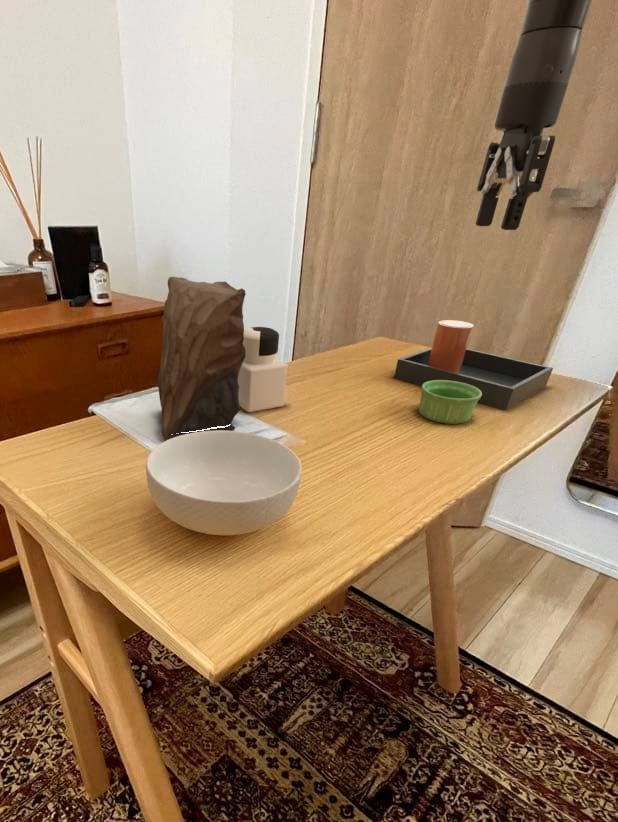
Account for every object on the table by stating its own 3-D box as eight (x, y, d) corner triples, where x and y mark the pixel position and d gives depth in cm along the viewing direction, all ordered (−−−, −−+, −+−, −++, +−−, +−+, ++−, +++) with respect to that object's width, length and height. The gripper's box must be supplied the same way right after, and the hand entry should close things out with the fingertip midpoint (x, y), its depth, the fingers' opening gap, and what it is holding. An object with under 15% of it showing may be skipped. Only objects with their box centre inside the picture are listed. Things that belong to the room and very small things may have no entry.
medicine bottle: (263, 393, 89) (268, 322, 82) (284, 406, 84) (291, 332, 76) (228, 399, 86) (230, 326, 79) (247, 413, 81) (252, 337, 74)
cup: (435, 365, 101) (448, 318, 96) (464, 372, 97) (479, 324, 92) (419, 371, 98) (432, 323, 92) (449, 379, 94) (464, 329, 89)
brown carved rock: (159, 409, 82) (151, 274, 70) (234, 407, 83) (238, 274, 71) (160, 442, 72) (152, 291, 60) (245, 438, 73) (253, 290, 61)
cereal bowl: (326, 528, 55) (336, 472, 51) (199, 581, 47) (198, 521, 43) (238, 466, 66) (240, 417, 62) (125, 501, 59) (119, 448, 55)
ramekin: (482, 415, 81) (491, 389, 79) (458, 431, 76) (468, 403, 74) (430, 400, 86) (437, 375, 84) (405, 414, 81) (412, 388, 79)
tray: (438, 360, 106) (443, 343, 104) (545, 387, 93) (553, 367, 91) (393, 377, 96) (397, 359, 94) (505, 410, 83) (513, 389, 81)
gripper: (599, 72, 59) (545, 231, 69) (536, 90, 71) (498, 224, 80) (536, 72, 59) (491, 231, 69) (484, 91, 71) (452, 224, 80)
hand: (495, 227), depth 74 cm, fingers open, 8 cm apart
